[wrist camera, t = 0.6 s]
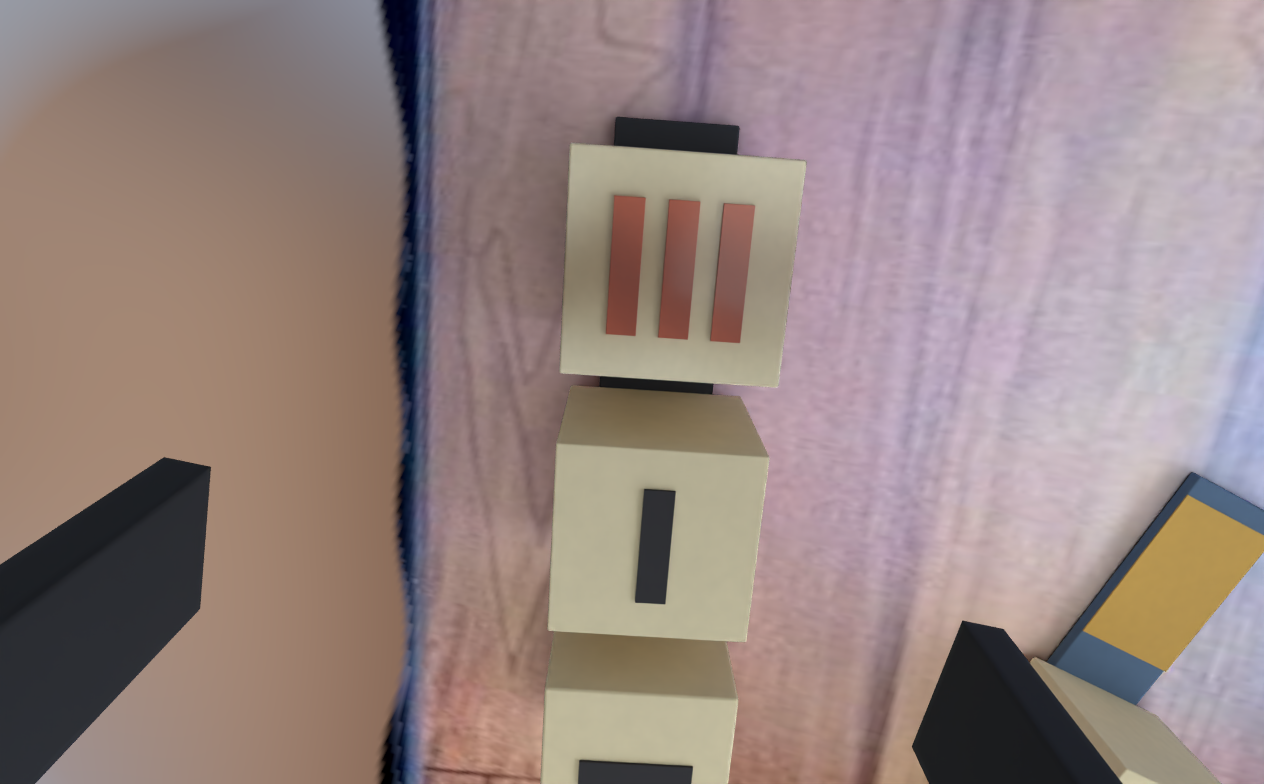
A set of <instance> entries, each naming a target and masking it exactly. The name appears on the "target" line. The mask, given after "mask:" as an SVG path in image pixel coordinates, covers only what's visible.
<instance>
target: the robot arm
mask: <svg viewBox="0 0 1264 784" xmlns="http://www.w3.org/2000/svg"><path fill="white" fill-rule="evenodd" d="M210 471H211V467H209V466H204V465H199V464H194V463H189V462H185V461H180V460H175V459H170V458H165V457H164V458H162V459H161V460H159V461H158V462H156V463H155V464H153V465H152V466H150V467H149V468H147V469H145V470H144V471H142V472H141V473H139V474H138V475H136V476H135V477H133V478H132V479H130V480H129V481H127V482H126V483H124V484H123V485H121V486H120V487H118V488H117V489H115V490H113V491H112V492H110V493H109V494H107V495H106V496H104V497H103V498H101V499H100V500H98V501H97V502H95V503H94V504H92V505H91V506H89V507H87V508H86V509H84V510H83V511H81V512H80V513H78V514H77V515H75V516H74V517H72V518H71V519H69V520H68V521H66V522H65V523H63V524H61V525H60V526H58V527H57V528H55V529H54V530H52V531H51V532H49V533H48V534H46V535H45V536H43V537H42V538H40V539H39V540H37V541H36V542H34V543H33V544H31V545H30V546H28V547H26V548H25V549H23V550H22V551H20V552H19V553H17V554H16V555H14V556H13V557H11V558H10V559H8V560H7V561H5V562H4V563H2V564H1V565H0V784H35V783H36V782H37V781H38V780H39V779H40V778H41V777H42V776H43V774H45V773H46V771H47V770H48V769H49V768H50V767H51V766H52V765H53V764H54V763H55V762H56V761H57V760H58V759H59V758H60V757H61V756H62V754H63V753H64V752H65V751H66V750H67V749H68V748H69V747H70V746H71V745H72V744H73V743H74V742H75V741H76V740H77V738H79V737H80V735H81V734H82V733H83V732H84V731H85V730H86V729H87V728H88V727H89V726H90V725H91V724H92V722H94V721H95V720H96V718H97V717H98V716H99V715H100V714H101V713H102V712H103V711H104V710H105V709H106V708H107V707H108V706H109V705H110V704H111V703H112V702H113V700H114V699H115V698H116V697H117V696H118V695H119V694H120V693H121V692H122V691H123V690H124V689H125V688H126V687H127V686H128V685H129V684H130V683H131V681H132V680H133V679H134V678H135V677H136V676H137V675H138V674H139V673H140V672H141V671H142V670H143V669H144V668H145V667H146V666H147V664H148V663H149V662H150V661H151V660H152V659H153V658H154V657H155V656H156V655H157V654H158V653H159V652H160V651H161V650H162V648H164V646H165V645H166V644H167V643H168V642H169V641H170V640H171V639H172V638H173V637H174V636H175V635H176V634H177V633H178V632H179V631H180V630H181V628H182V627H183V626H184V625H185V624H186V623H187V622H188V621H189V620H190V619H191V618H192V617H193V616H194V615H195V614H196V613H197V612H198V610H199V609H200V602H201V589H202V575H203V563H204V550H205V537H206V523H207V510H208V497H209V483H210ZM912 748H913V750H914V752H915V754H916V756H917V759H918V761H919V763H920V765H921V767H922V769H923V771H924V774H925V776H926V778H927V780H928V782H929V784H1123V783H1122V782H1121V781H1120V779H1119V778H1118V777H1117V776H1116V774H1115V773H1114V772H1113V770H1112V769H1111V768H1110V766H1109V765H1108V764H1107V763H1106V761H1105V760H1104V759H1103V757H1102V756H1101V755H1100V754H1099V752H1098V751H1097V750H1096V748H1095V747H1094V746H1093V744H1092V743H1091V742H1090V741H1089V739H1088V738H1087V737H1086V735H1085V734H1084V733H1083V731H1082V730H1081V729H1080V728H1079V726H1078V725H1077V724H1076V722H1075V721H1074V720H1073V719H1072V717H1071V716H1070V715H1069V713H1068V712H1067V711H1066V709H1065V708H1064V707H1063V706H1062V704H1061V703H1060V702H1059V700H1058V699H1057V698H1056V696H1055V695H1054V694H1053V693H1052V691H1051V690H1050V689H1049V687H1048V686H1047V685H1046V684H1045V682H1044V681H1043V680H1042V678H1041V677H1040V676H1039V674H1038V673H1037V672H1036V671H1035V669H1034V668H1033V667H1032V665H1031V664H1030V663H1029V661H1028V660H1027V659H1026V658H1025V656H1024V655H1023V654H1022V652H1021V651H1020V650H1019V649H1018V647H1017V646H1016V645H1015V643H1014V642H1013V641H1012V639H1011V638H1010V637H1009V636H1008V634H1007V633H1006V632H1005V630H1004V629H1001V628H996V627H991V626H986V625H981V624H976V623H971V622H967V621H962V623H961V625H960V628H959V630H958V633H957V635H956V638H955V640H954V643H953V645H952V648H951V650H950V653H949V655H948V658H947V660H946V663H945V665H944V668H943V670H942V673H941V675H940V678H939V680H938V683H937V685H936V688H935V690H934V693H933V695H932V698H931V700H930V703H929V705H928V708H927V710H926V713H925V715H924V717H923V720H922V722H921V725H920V727H919V730H918V732H917V735H916V737H915V740H914V742H913V745H912Z"/></svg>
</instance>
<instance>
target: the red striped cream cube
mask: <svg viewBox="0 0 1264 784" xmlns="http://www.w3.org/2000/svg"><path fill="white" fill-rule="evenodd" d="M806 164H807V162H806V160H800V159H786V158H773V157H759V156H746V155H732V154H719V153H705V152H691V151H678V150H664V149H651V148H637V147H623V146H610V145H596V144H583V143H570V149H569V170H568V192H567V214H566V235H565V257H564V279H563V300H562V322H561V344H560V365H559V372H560V373H564V374H579V375H594V376H609V377H624V378H639V379H654V380H669V381H684V382H699V383H714V384H729V385H744V386H759V387H774V388H776V387H778V385H779V377H780V369H781V362H782V354H783V346H784V338H785V330H786V322H787V314H788V306H789V298H790V290H791V283H792V275H793V267H794V259H795V251H796V243H797V235H798V227H799V219H800V212H801V204H802V196H803V188H804V180H805V172H806Z"/></svg>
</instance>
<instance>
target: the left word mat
mask: <svg viewBox="0 0 1264 784" xmlns="http://www.w3.org/2000/svg"><path fill="white" fill-rule="evenodd" d="M739 129H740V128H739V126H734V125H720V124H707V123H693V122H680V121H667V120H653V119H640V118H626V117H616V122H615V138H614V146H623V147H637V148H651V149H664V150H678V151H691V152H705V153H719V154H732V155H737V149H738V139H739ZM712 392H713V383H699V382H684V381H669V380H654V379H639V378H624V377H609V376H600V384H599V387H590V386H575V385H572V386H571V387H570V391H569V395H568V399H567V403H566V407H565V411H564V415H563V419H562V423H561V427H560V430H559V434H558V438H557V442H556V454H555V476H554V498H553V519H552V541H551V563H550V584H549V606H548V628H547V629H548V631H554V634H553V640H552V647H551V653H550V659H549V666H548V672H547V678H546V685H545V695H544V717H543V738H542V760H541V781H540V784H728V779H729V771H730V763H731V755H732V747H733V739H734V732H735V724H736V716H737V708H738V696H737V691H736V686H735V681H734V676H733V671H732V666H731V661H730V657H729V652H728V647H727V642H726V641H731V642H746V639H747V631H748V623H749V616H750V608H751V600H752V592H753V584H754V576H755V568H756V560H757V552H758V545H759V537H760V529H761V521H762V513H763V505H764V497H765V489H766V481H767V473H768V466H769V455H768V453H767V451H766V449H765V447H764V445H763V443H762V441H761V439H760V437H759V435H758V433H757V430H756V428H755V426H754V424H753V422H752V420H751V418H750V416H749V414H748V412H747V410H746V408H745V405H744V403H743V401H742V399H741V397H740V396H726V395H712Z"/></svg>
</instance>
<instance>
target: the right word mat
mask: <svg viewBox="0 0 1264 784" xmlns="http://www.w3.org/2000/svg"><path fill="white" fill-rule="evenodd" d="M1263 552H1264V510H1262V509H1260V508H1259V507H1257V506H1255V505H1253V504H1251V503H1249V502H1248V501H1246V500H1244V499H1242V498H1240V497H1238V496H1236V495H1235V494H1233V493H1231V492H1229V491H1227V490H1225V489H1223V488H1222V487H1220V486H1218V485H1216V484H1214V483H1212V482H1210V481H1209V480H1207V479H1205V478H1203V477H1201V476H1199V475H1197V474H1196V473H1191V474H1190V475H1189V477H1188V478H1187V479H1186V480H1185V482H1184V483H1183V484H1182V486H1181V487H1180V488H1179V490H1178V491H1177V492H1176V493H1175V495H1174V496H1173V497H1172V499H1171V500H1170V501H1169V503H1168V504H1167V505H1166V507H1165V508H1164V509H1163V510H1162V512H1161V513H1160V514H1159V516H1158V517H1157V518H1156V520H1155V521H1154V522H1153V524H1152V525H1151V526H1150V527H1149V529H1148V530H1147V531H1146V533H1145V534H1144V535H1143V537H1142V538H1141V539H1140V540H1139V542H1138V543H1137V544H1136V546H1135V547H1134V548H1133V550H1132V551H1131V552H1130V554H1129V555H1128V556H1127V557H1126V559H1125V560H1124V561H1123V563H1122V564H1121V565H1120V567H1119V568H1118V569H1117V571H1116V572H1115V573H1114V574H1113V576H1112V577H1111V578H1110V580H1109V581H1108V582H1107V584H1106V585H1105V586H1104V588H1103V589H1102V590H1101V591H1100V593H1099V594H1098V595H1097V597H1096V598H1095V599H1094V601H1093V602H1092V603H1091V604H1090V606H1089V607H1088V608H1087V610H1086V611H1085V612H1084V614H1083V615H1082V616H1081V618H1080V619H1079V620H1078V621H1077V623H1076V624H1075V625H1074V627H1073V628H1072V629H1071V631H1070V632H1069V633H1068V635H1067V636H1066V637H1065V638H1064V640H1063V641H1062V642H1061V644H1060V645H1059V646H1058V648H1057V649H1056V650H1055V651H1054V653H1053V654H1052V655H1051V657H1050V658H1049V659H1048V661H1047V662H1045V661H1043V660H1041V659H1039V658H1036V657H1034V658H1033V659H1032V660H1031V662H1030V664H1031V665H1032V667H1033V668H1034V669H1035V671H1036V672H1037V673H1038V674H1039V676H1040V677H1041V678H1042V680H1043V681H1044V682H1045V684H1046V685H1047V686H1048V687H1049V689H1050V690H1051V691H1052V693H1053V694H1054V695H1055V696H1056V698H1057V699H1058V700H1059V702H1060V703H1061V704H1062V706H1063V707H1064V708H1065V709H1066V711H1067V712H1068V713H1069V715H1070V716H1071V717H1072V719H1073V720H1074V721H1075V722H1076V724H1077V725H1078V726H1079V728H1080V729H1081V730H1082V731H1083V733H1084V734H1085V735H1086V737H1087V738H1088V739H1089V741H1090V742H1091V743H1092V744H1093V746H1094V747H1095V748H1096V750H1097V751H1098V752H1099V754H1100V755H1101V756H1102V757H1103V759H1104V760H1105V761H1106V763H1107V764H1108V765H1109V766H1110V768H1111V769H1112V770H1113V772H1114V773H1115V774H1116V776H1117V777H1118V778H1119V779H1120V781H1121V782H1122V783H1123V784H1221V783H1220V782H1219V780H1218V779H1217V778H1216V777H1215V776H1214V775H1213V774H1212V773H1211V772H1210V771H1209V770H1208V769H1207V768H1206V767H1205V766H1204V765H1203V764H1202V763H1201V762H1200V761H1199V760H1198V759H1197V757H1196V756H1195V755H1194V754H1193V753H1192V752H1191V751H1190V750H1189V749H1188V748H1187V747H1186V746H1185V745H1184V744H1183V743H1182V742H1181V741H1180V740H1179V739H1178V738H1177V737H1176V735H1175V734H1174V733H1173V732H1172V731H1171V730H1170V729H1169V728H1168V727H1167V726H1166V725H1165V724H1164V723H1163V722H1162V721H1161V720H1160V719H1159V718H1158V717H1157V716H1156V715H1154V714H1152V713H1150V712H1148V711H1146V710H1144V709H1142V708H1140V707H1138V706H1136V704H1137V703H1138V702H1139V701H1140V699H1141V698H1142V697H1143V696H1144V695H1145V693H1146V692H1147V691H1148V690H1149V688H1150V687H1151V686H1152V685H1153V684H1154V682H1155V681H1156V680H1157V679H1158V677H1159V676H1160V675H1161V674H1162V672H1163V671H1165V672H1166V671H1167V670H1168V668H1169V667H1170V666H1171V665H1172V664H1173V662H1174V661H1175V660H1176V659H1177V657H1178V656H1179V655H1180V654H1181V653H1182V651H1183V650H1184V649H1185V648H1186V646H1187V645H1188V644H1189V643H1190V642H1191V640H1192V639H1193V638H1194V637H1195V635H1196V634H1197V633H1198V632H1199V631H1200V629H1201V628H1202V627H1203V626H1204V624H1205V623H1206V622H1207V621H1208V619H1209V618H1210V617H1211V616H1212V615H1213V613H1214V612H1215V611H1216V610H1217V608H1218V607H1219V606H1220V605H1221V604H1222V602H1223V601H1224V600H1225V599H1226V597H1227V596H1228V595H1229V594H1230V593H1231V591H1232V590H1233V589H1234V588H1235V586H1236V585H1237V584H1238V583H1239V582H1240V580H1241V579H1242V578H1243V577H1244V575H1245V574H1246V573H1247V572H1248V571H1249V569H1250V568H1251V567H1252V566H1253V564H1254V563H1255V562H1256V561H1257V560H1258V558H1259V557H1260V556H1261V555H1262V553H1263Z"/></svg>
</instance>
